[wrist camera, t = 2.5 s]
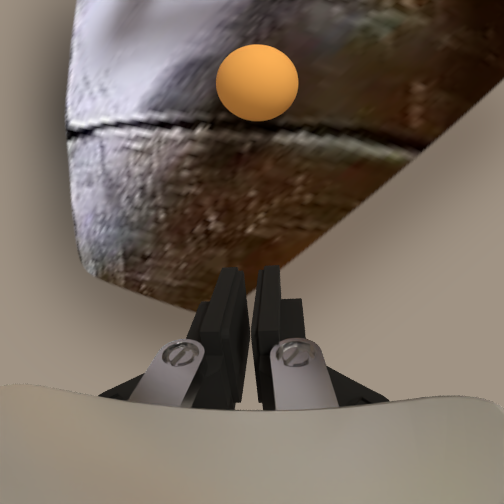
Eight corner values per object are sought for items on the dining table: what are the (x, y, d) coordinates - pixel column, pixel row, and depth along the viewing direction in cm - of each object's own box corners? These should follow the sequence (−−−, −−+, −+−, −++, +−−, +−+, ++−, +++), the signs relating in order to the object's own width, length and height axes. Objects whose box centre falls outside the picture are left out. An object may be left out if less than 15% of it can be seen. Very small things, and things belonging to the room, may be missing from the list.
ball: (292, 51, 23) (296, 33, 17) (298, 119, 25) (304, 118, 19) (220, 57, 23) (205, 41, 18) (226, 124, 25) (212, 125, 20)
